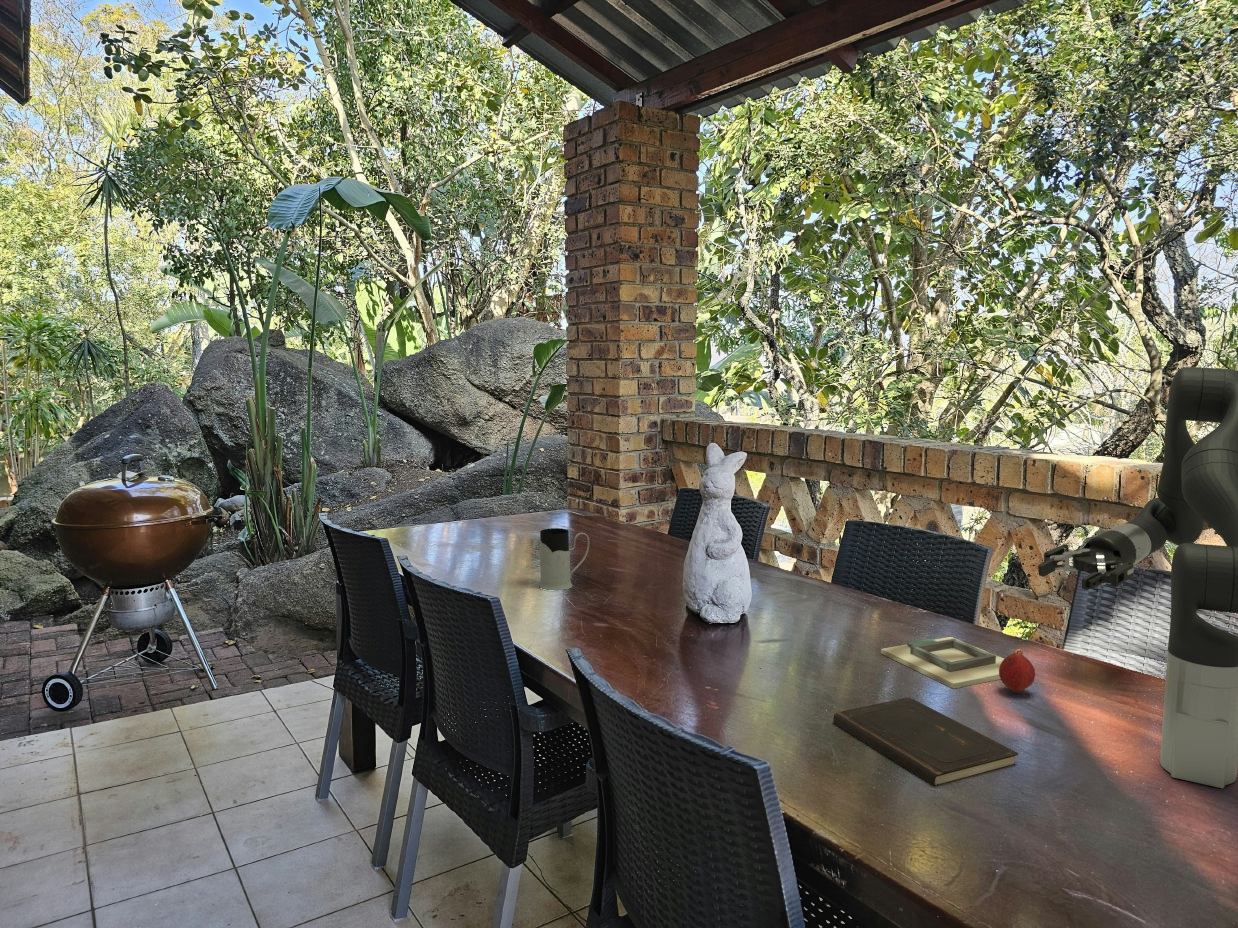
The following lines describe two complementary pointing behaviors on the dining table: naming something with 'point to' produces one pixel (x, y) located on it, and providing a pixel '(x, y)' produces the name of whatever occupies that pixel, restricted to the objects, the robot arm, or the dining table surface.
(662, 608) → the dining table surface
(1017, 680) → the onion
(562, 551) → the glass holder
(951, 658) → the cradle board
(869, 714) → the hardcover book
